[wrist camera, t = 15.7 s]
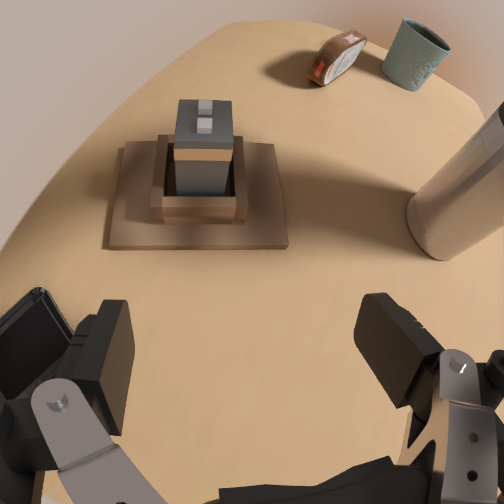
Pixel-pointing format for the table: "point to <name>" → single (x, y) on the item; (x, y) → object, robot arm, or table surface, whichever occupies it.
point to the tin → (336, 57)
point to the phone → (31, 344)
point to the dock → (197, 202)
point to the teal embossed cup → (414, 55)
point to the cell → (203, 147)
